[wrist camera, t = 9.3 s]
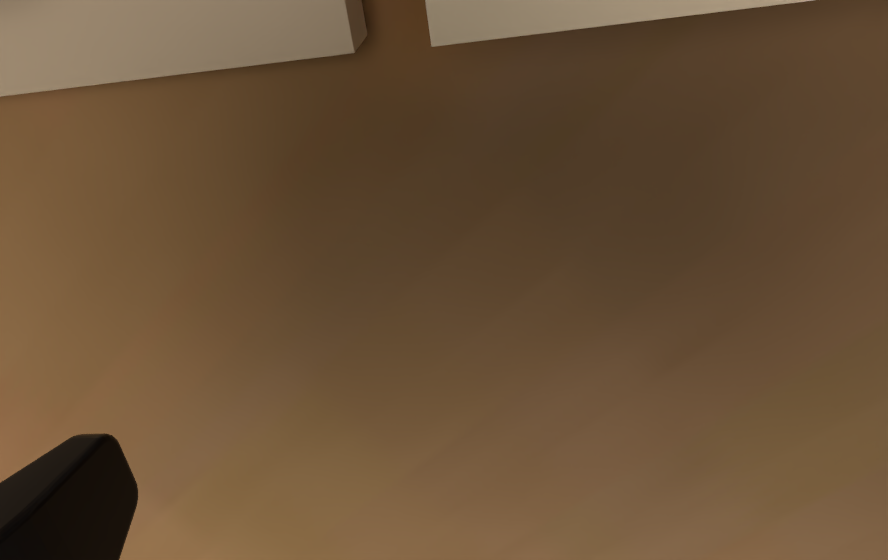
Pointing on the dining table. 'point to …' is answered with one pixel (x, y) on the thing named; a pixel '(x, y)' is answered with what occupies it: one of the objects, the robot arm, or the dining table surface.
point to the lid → (163, 38)
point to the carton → (557, 15)
